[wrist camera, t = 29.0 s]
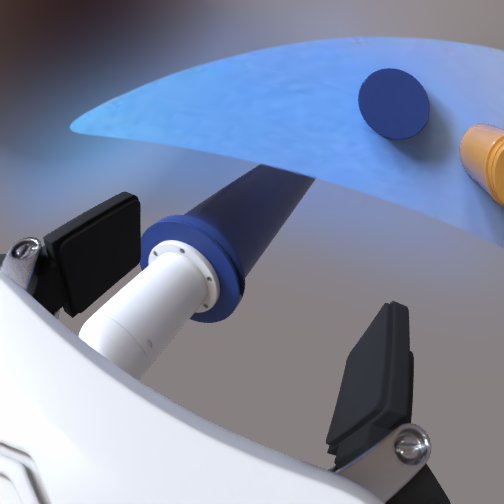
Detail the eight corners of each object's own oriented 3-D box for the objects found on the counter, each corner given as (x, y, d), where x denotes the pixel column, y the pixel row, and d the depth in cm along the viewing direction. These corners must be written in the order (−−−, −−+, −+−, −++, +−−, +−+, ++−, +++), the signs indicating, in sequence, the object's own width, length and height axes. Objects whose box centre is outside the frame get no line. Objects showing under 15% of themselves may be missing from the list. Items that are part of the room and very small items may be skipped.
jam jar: (496, 192, 22) (530, 228, 15) (451, 167, 23) (479, 194, 16) (515, 141, 18) (558, 161, 11) (469, 112, 19) (506, 120, 12)
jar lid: (408, 150, 24) (411, 153, 23) (348, 117, 25) (346, 118, 24) (436, 92, 20) (440, 92, 19) (373, 58, 21) (373, 56, 20)
